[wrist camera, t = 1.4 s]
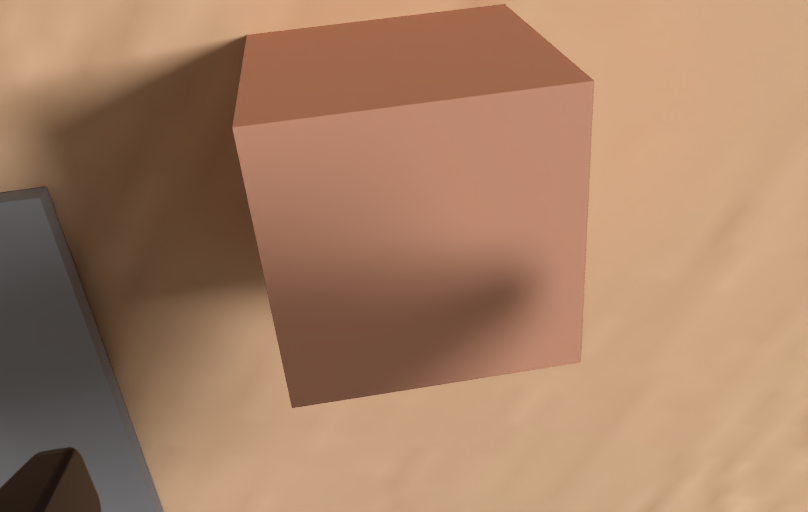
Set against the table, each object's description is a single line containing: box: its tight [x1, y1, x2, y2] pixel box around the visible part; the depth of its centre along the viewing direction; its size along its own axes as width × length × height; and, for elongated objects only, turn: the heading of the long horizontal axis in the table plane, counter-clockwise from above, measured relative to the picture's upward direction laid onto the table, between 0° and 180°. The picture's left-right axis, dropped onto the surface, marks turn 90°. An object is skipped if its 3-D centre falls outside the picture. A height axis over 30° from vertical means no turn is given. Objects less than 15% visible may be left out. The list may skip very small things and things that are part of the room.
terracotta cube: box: [232, 4, 594, 408], centre depth 14 cm, size 5×5×5 cm
